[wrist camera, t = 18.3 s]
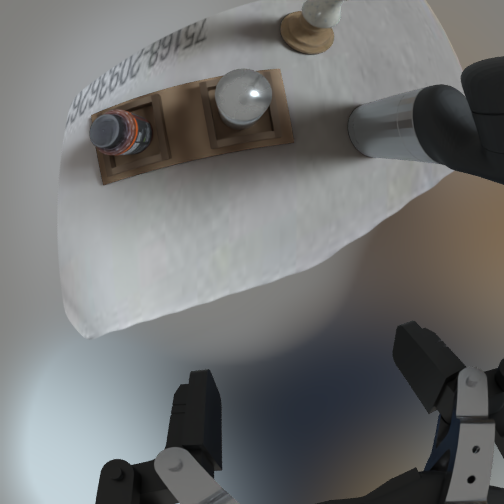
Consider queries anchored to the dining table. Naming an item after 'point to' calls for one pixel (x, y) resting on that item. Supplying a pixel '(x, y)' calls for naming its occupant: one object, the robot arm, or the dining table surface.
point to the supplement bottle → (121, 133)
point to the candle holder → (312, 26)
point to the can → (242, 98)
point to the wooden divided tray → (194, 127)
